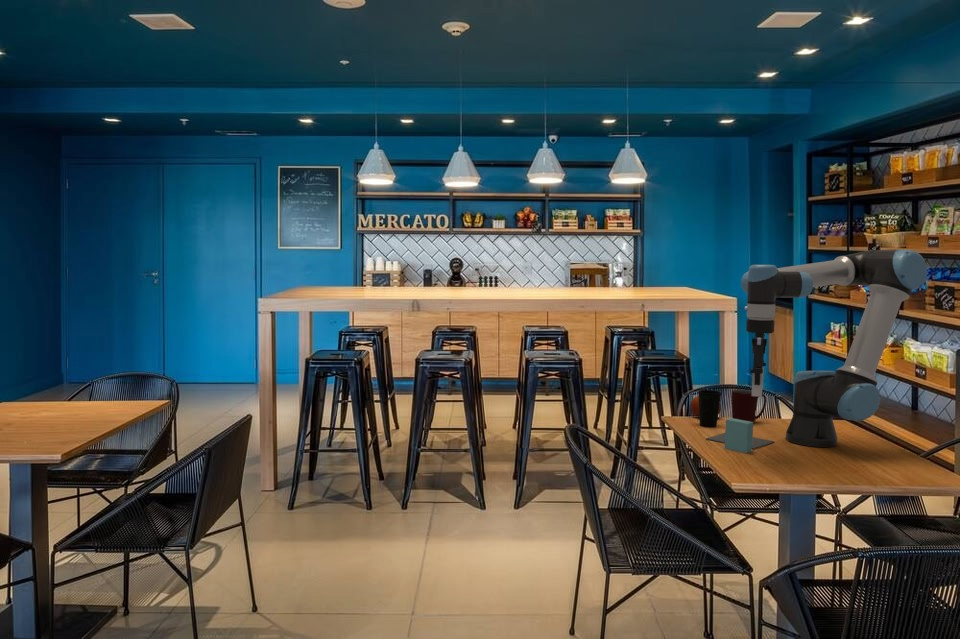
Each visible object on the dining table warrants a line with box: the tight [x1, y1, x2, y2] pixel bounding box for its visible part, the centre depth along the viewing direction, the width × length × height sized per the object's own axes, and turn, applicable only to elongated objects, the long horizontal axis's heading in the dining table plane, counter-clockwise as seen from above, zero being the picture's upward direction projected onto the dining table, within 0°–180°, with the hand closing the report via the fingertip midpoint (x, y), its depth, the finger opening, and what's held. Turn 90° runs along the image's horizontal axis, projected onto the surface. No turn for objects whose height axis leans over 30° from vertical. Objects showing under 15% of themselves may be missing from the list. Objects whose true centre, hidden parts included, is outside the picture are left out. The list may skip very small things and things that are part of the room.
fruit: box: [690, 395, 722, 417], centre depth 269 cm, size 11×10×8 cm
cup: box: [697, 389, 722, 429], centre depth 255 cm, size 8×8×12 cm
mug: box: [731, 389, 767, 425], centre depth 262 cm, size 12×9×11 cm
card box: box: [723, 417, 754, 454], centre depth 223 cm, size 4×7×9 cm, turn 43°
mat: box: [705, 432, 775, 451], centre depth 234 cm, size 14×16×1 cm
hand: (757, 392), depth 211 cm, fingers open, 13 cm apart
